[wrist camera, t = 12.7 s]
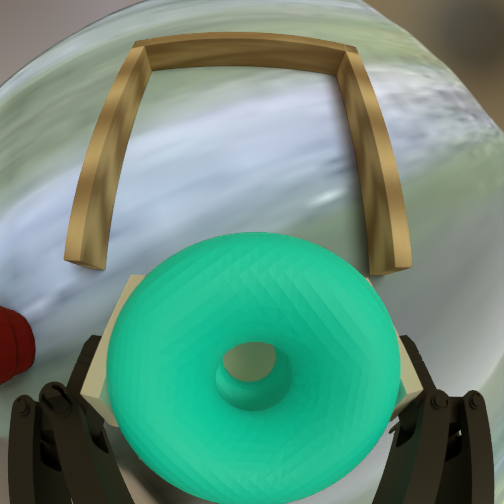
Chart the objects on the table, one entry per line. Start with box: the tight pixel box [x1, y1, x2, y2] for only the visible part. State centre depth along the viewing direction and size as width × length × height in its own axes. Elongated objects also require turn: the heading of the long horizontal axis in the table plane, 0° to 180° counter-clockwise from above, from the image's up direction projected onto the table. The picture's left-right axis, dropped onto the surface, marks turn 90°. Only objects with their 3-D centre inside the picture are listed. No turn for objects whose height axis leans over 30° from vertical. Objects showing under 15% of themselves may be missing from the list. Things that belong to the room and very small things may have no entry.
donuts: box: [106, 232, 401, 504], centre depth 11 cm, size 10×10×10 cm
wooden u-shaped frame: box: [64, 32, 412, 275], centre depth 20 cm, size 24×24×4 cm
